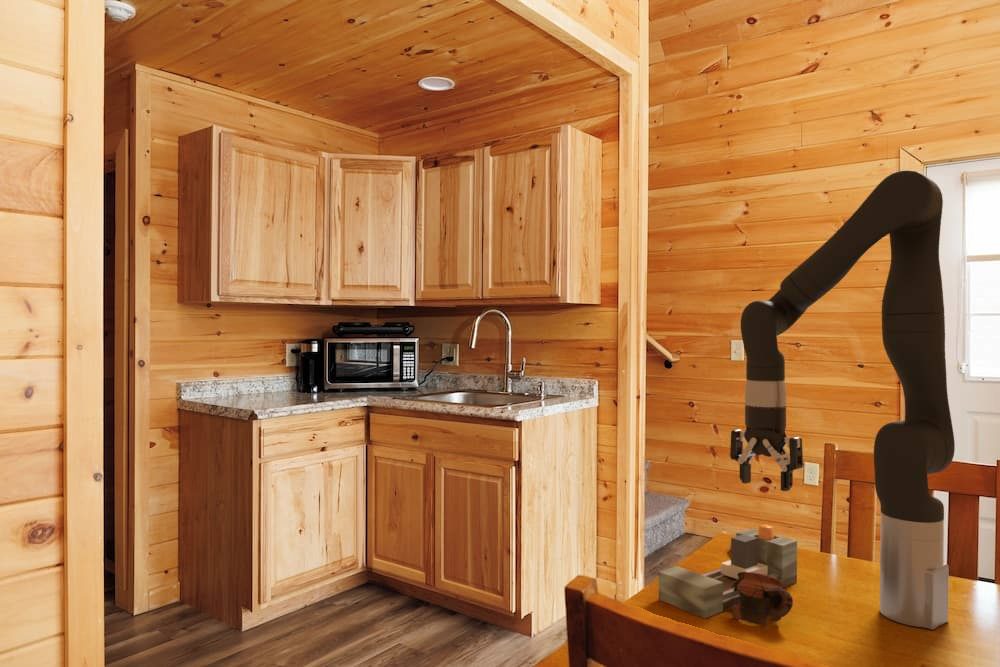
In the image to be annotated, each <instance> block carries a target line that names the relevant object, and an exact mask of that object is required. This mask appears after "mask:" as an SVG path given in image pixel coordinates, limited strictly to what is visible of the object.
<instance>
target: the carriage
mask: <svg viewBox="0 0 1000 667" xmlns="http://www.w3.org/2000/svg"><path fill="white" fill-rule="evenodd" d="M730 545H731V546H730V559H729V560H727V561H726V560H725V561H724V562H721V563H720V569H721V574H724V575H726V576H729V577H732V578H735V579H738V575H737V574H738V573H740V572H751V573H758V574H763V575H767V576H768V566H767V565H764V564H761V563H757V551H758V538H755V537H751V536H748V535H744V534H743V535H740V536H736V535H735V536H734V537H731V538H730Z"/></svg>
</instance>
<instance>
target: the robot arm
mask: <svg viewBox="0 0 1000 667" xmlns="http://www.w3.org/2000/svg"><path fill="white" fill-rule="evenodd" d="M943 201H944V200H943V192H942V191H941V188H940V187H939V186H938V184H937V183H936V182H935V181H933V180H932V179H931V178H929V177H928V176H927V175H925V174H924V173H922V172H919V171H916V170H911V169H906V170H898V171H895V172H893V173H890V174H889V175H887V176H886V177H885V178H883V179H882V180H881V181H880V183H879V184H877V185H876V187H875V188H874V189H873V190H872V192H871V193H870V194H869V195H868V196H867V197H866V198H865V200H864V201H863V202H862V203H861V204H860V206H859V207H858V208H857V209H856V210H855V212H854V213H852V214H851V215H850V217H849V218H848V219H847V220H846V221H845V222H844V223H843V225H842V226H841V227H840V228H838V230H837V231H835V232H834V234H832V235H831V237H830V238H829V239H827V240H826V241H825V243H823V244H822V245H821V246H820V247H818V249H817V250H816V251H814V252H813V253H812V254H811V255H810V256H809V257H807V258H806V259H805V260H804V261H802V262H801V263H800V264H799V265H798V266H797V267H796V268H795V269H794V270H792V271H791V272H790V273H789V274H787V275H786V276H785V278H783V279H782V281H781V282H780V286H779V290H778V291H777V292H776V293H775V294H773V296H772V297H771V298H769V299H768V300H756V301H755V300H754V301H752V302H749V303H748V304H747V305H746V306H745V307H744V309H743V310H742V313H741V317H740V332H741V339H742V344H743V350H744V353H745V356H746V366H745V370H746V371H745V373H746V375H745V376H746V378H745V379H746V381H745V382H746V383H745V388H744V425H745V427H746V429H745V430H743V429H742V428H740V429H738V428H737V429H733V430H731V432H730V452H729V453H730V454H729V458H730V460H734V461H736V462H737V463H738V464H739V465H738V466H739V479H740V480H741V483H742V484H750V483H751V482H752V464H751V463H750V462H751V461H752V459H753V458H754V457H755V456H760V455H761V456H765V457H769V458H770V457H771V458H772V459H773V460H774V462H775V463H777V464H778V466H779V467H780V470H781V471H780V491H782V492H788V491H790V490H791V488H793V485H794V484H793V483H794V482H793V479H794V477H793V476H794V475H793V473H794V471H795V470H796V471H797V470H799V469H802V468H803V467H804V457H803V456H804V454H803V439H802V437H801V436H795V437H792V436H791V437H790V436H787V433H786V428H787V391H786V390H787V388H786V381H785V380H786V379H785V378H786V376H785V375H786V374H785V373H786V370H785V369H786V367H785V366H786V364H785V355H784V354H783V353H782V352H781V351H780V350H779V346H778V337H777V336H780V335H781V334H783V333H785V332H786V331H787V330H789V329H790V328H791V327H792V326H794V325H795V323H796V322H797V321H798V320H799V319H800V318H801V317H802V316H803V315H804V313H805V312H806V311H807V310H808V308H809V307H811V306H812V305H814V304H815V303H816V302H817V301H819V300H820V299H821V298H823V296H825V295H826V294H827V293H829V292H830V291H831V290H832V289H834V287H835V286H837V285H838V284H839V283H841V281H842V280H843V279H844V278H845V276H846V275H847V274H848V273H849V272H850V271H851V269H852V268H853V267H854V266H855V265H856V263H857V262H858V261H859V260H860V259H861V258H862V257H863V255H864V254H865V253H866V252H868V250H870V249H871V248H872V247H873V246H874V245H875V244H877V243H878V242H880V240H882V239H883V238H885V237H887V235H889V241H890V242H889V244H890V265H889V270H888V275H887V277H886V278H887V279H886V282H885V286H884V291H883V296H882V302H881V333H882V334H881V337H882V344H883V348H884V350H885V353H886V355H887V357H888V360H889V361H890V363H891V366H892V367H893V369H894V371H895V373H896V374H897V378H898V379H899V381H900V383H901V387H902V390H903V391H902V392H903V396H904V398H903V399H904V420H896V421H892V422H891V421H890V422H888V423H886V424H884V425H883V426H881V428H879V430H878V431H877V433H876V436H875V438H874V439H875V440H874V442H873V467H874V469H873V471H874V486H875V487H874V488H875V493H876V496H877V498H878V501H879V504H880V528H879V529H880V532H879V533H880V538H879V539H880V541H879V542H880V544H879V547H880V549H879V551H880V552H879V554H880V555H879V612H880V613H881V614H882V616H884V617H885V618H887V619H889V620H891V621H894V622H896V623H898V624H899V623H900V624H902V625H906V626H911V627H917V628H918V627H919V628H925V629H929V630H935V629H937V628H938V627H940V626H942V625H944V624H945V623H947V622H949V595H950V594H949V592H950V591H949V588H950V587H949V584H950V582H949V578H950V575H949V574H950V572H949V571H950V570H949V564H948V563H946V562H945V561H944V557H945V556H944V554H945V553H944V552H945V550H944V546H945V544H944V542H945V540H944V539H945V538H944V537H945V505H944V503H943V502H942V501H941V500H940V499H939V498H938V497H934V496H932V495H931V494H930V492H929V480H928V479H929V478H928V475H931V474H937V473H940V472H943V471H945V470H946V469H947V468H948V467H949V466H950V465H951V463H952V461H953V460H954V456H955V450H956V448H955V436H954V435H955V434H954V429H953V422H952V414H951V411H950V409H951V408H950V405H949V404H950V403H949V397H948V396H949V394H948V386H947V385H948V383H947V382H948V380H947V365H946V364H947V363H946V362H947V361H946V325H945V324H946V321H945V320H946V319H945V318H946V316H945V304H944V303H945V302H944V290H943V280H942V278H943V277H942V273H941V272H942V271H941V263H940V239H941V237H940V236H941V226H942V215H943V205H944V202H943ZM744 441H746V442H747V444H746V446H745V448H744ZM786 445H787V448H788V449H789V454H788V452H787V451H786V449H785V446H786Z"/></svg>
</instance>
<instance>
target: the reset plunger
mask: <svg viewBox="0 0 1000 667" xmlns="http://www.w3.org/2000/svg"><path fill="white" fill-rule="evenodd" d="M758 530H759V532H758V538H761V539H765V540H768V541H770V540H773V539H774V535H775V533H774V532H775V528H774V526H773V525H770V524H758Z"/></svg>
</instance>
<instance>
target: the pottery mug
mask: <svg viewBox="0 0 1000 667" xmlns="http://www.w3.org/2000/svg"><path fill="white" fill-rule="evenodd" d="M737 575H738V579H737V580H736V581H735V582H734V583H733V584H732V585H731V587H732V588H734V587H735V588H734V591H737V590H738V591H739V592H740V604H739V605H732V608H731V610H732V611H731V612H732V614H731V615H732V619H733V620H740V621H744V622H745V621H746V622H748V623H751V624H754V625H758V626H762V627H766V626H767V622H768V621H767V620H768V618H769V617H770V618H771V620H772V621H773V622H775V623H776V622H778V621H779V622H780V621H781V619H782V618H784V617H785V616H786V615H788V614H789V613H790V611H791V610H792V608H793V604H794V601H793V597H792V595H791V593H790V592H789V591H787V590H785V589H783V588H782V586H783V583H782V582H781V581H780V580H778V579H776V578H774V577H770V576H767V575H763V574H758V573H751V572H740V573H738V574H737Z"/></svg>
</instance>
